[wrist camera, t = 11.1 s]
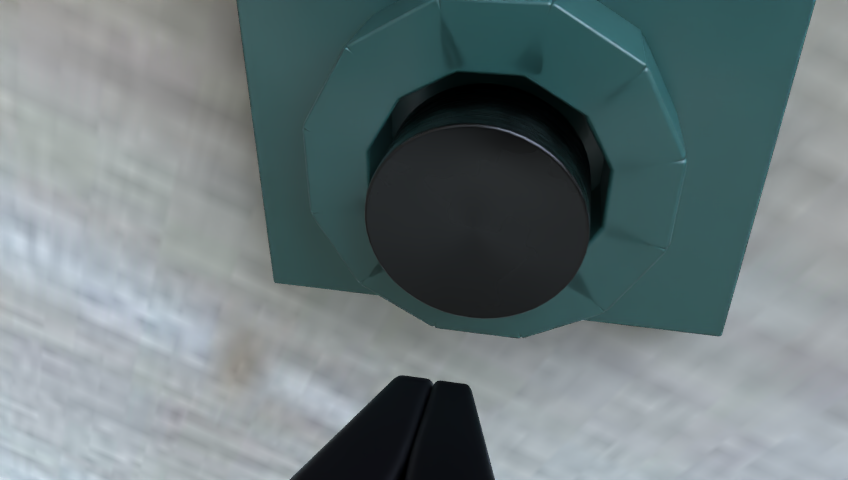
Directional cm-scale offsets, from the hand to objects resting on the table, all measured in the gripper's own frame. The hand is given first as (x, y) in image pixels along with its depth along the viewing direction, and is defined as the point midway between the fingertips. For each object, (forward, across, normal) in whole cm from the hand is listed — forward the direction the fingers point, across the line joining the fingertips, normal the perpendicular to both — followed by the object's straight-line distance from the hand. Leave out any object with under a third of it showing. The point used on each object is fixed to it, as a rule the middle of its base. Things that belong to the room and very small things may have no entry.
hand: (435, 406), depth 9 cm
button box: (+9, 0, 0) cm, 9 cm away
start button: (+6, 0, 0) cm, 6 cm away
